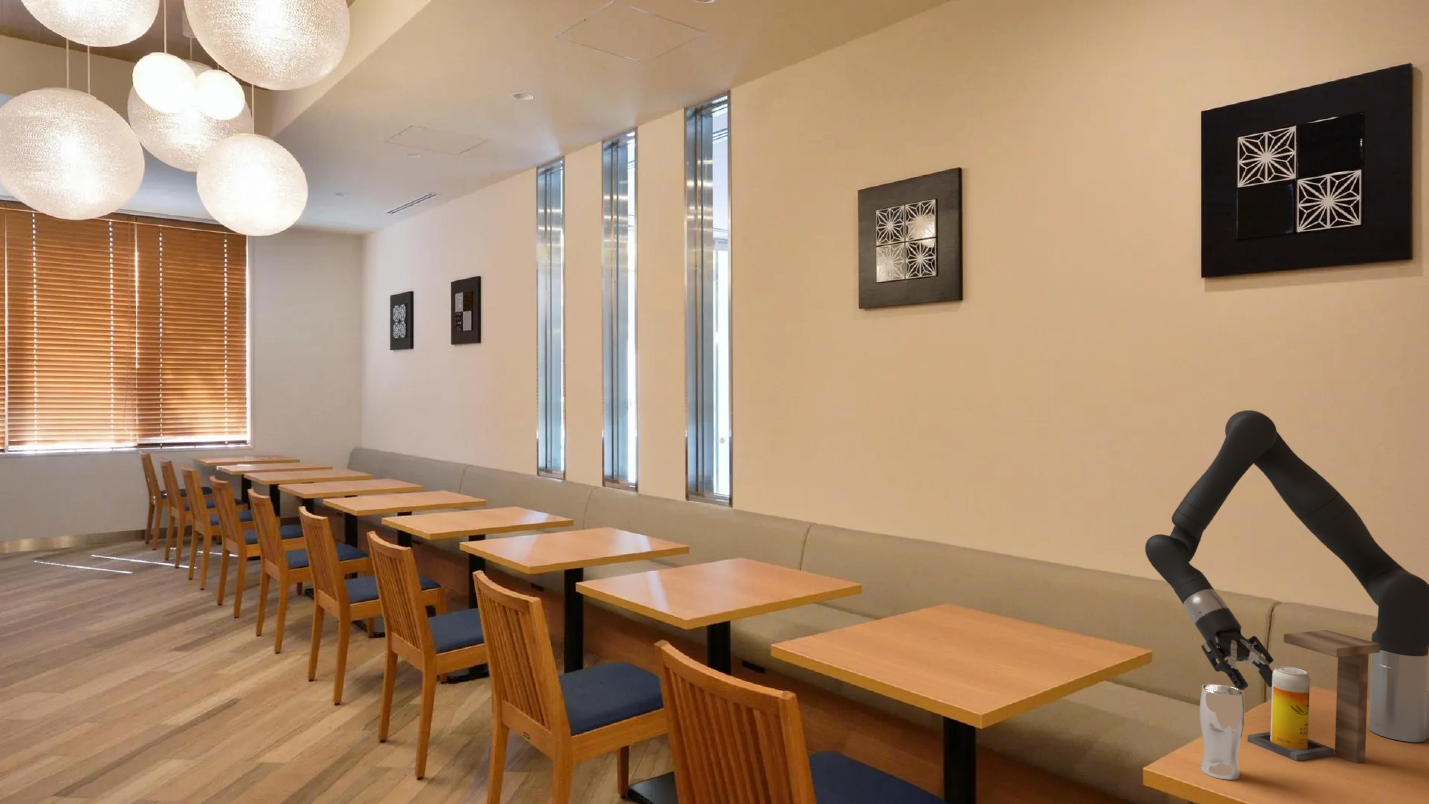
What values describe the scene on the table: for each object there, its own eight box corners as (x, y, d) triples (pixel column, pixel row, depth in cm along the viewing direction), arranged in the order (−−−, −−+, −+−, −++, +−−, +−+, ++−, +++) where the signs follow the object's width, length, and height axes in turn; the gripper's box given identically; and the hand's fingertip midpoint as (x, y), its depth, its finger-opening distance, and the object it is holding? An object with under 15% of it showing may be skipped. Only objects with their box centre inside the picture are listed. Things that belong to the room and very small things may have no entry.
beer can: (1308, 756, 167) (1310, 677, 167) (1270, 748, 171) (1272, 671, 171) (1306, 746, 173) (1309, 669, 173) (1269, 739, 176) (1272, 663, 176)
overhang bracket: (1293, 734, 179) (1296, 622, 179) (1376, 765, 164) (1380, 643, 164) (1247, 741, 174) (1251, 626, 174) (1328, 774, 159) (1332, 648, 159)
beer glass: (1239, 784, 153) (1242, 698, 153) (1194, 773, 158) (1197, 689, 158) (1244, 772, 159) (1247, 688, 159) (1201, 761, 163) (1203, 680, 163)
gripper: (1197, 608, 183) (1246, 680, 172) (1247, 604, 188) (1297, 675, 177) (1175, 627, 188) (1221, 699, 177) (1224, 623, 193) (1271, 693, 182)
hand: (1259, 687), depth 177 cm, fingers open, 8 cm apart
